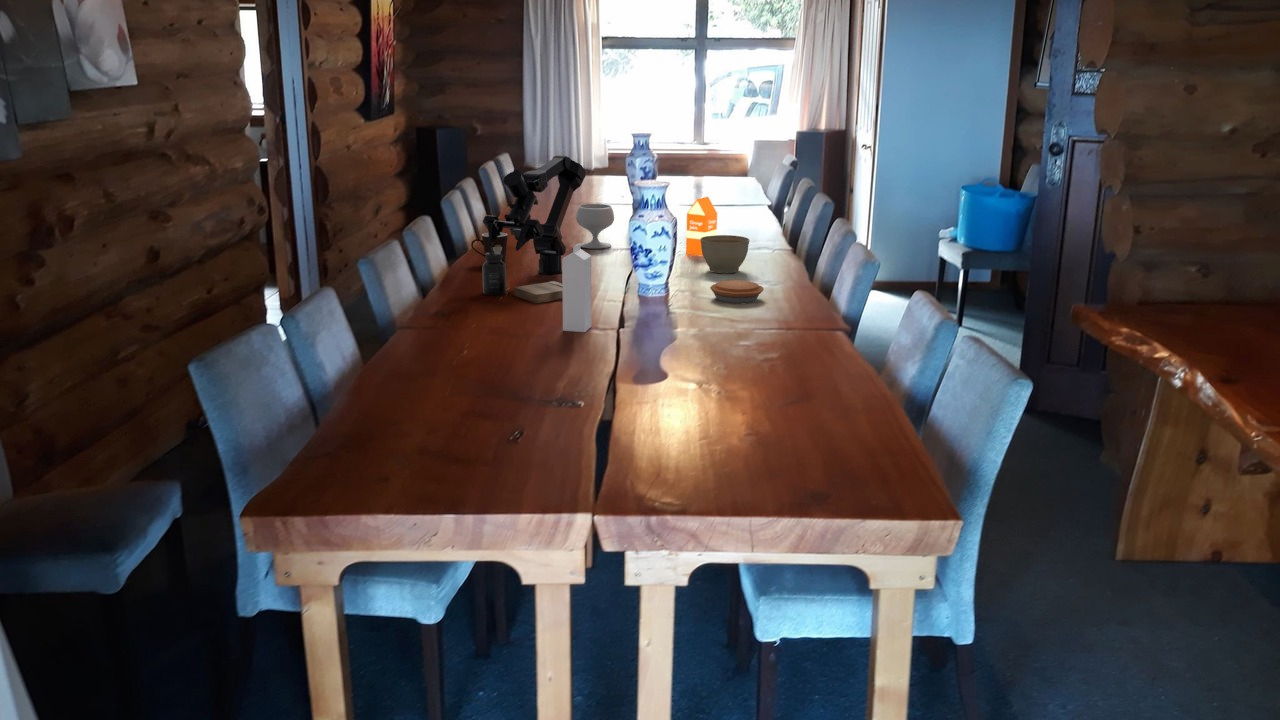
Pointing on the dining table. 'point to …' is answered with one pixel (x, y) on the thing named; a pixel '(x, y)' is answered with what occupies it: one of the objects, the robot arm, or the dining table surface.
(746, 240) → the planter bowl
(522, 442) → the dining table surface
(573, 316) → the milk
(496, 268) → the supplement bottle
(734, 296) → the pie
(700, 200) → the orange juice
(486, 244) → the coffee mug
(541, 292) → the beige flat block
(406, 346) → the dining table surface
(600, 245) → the chalice
